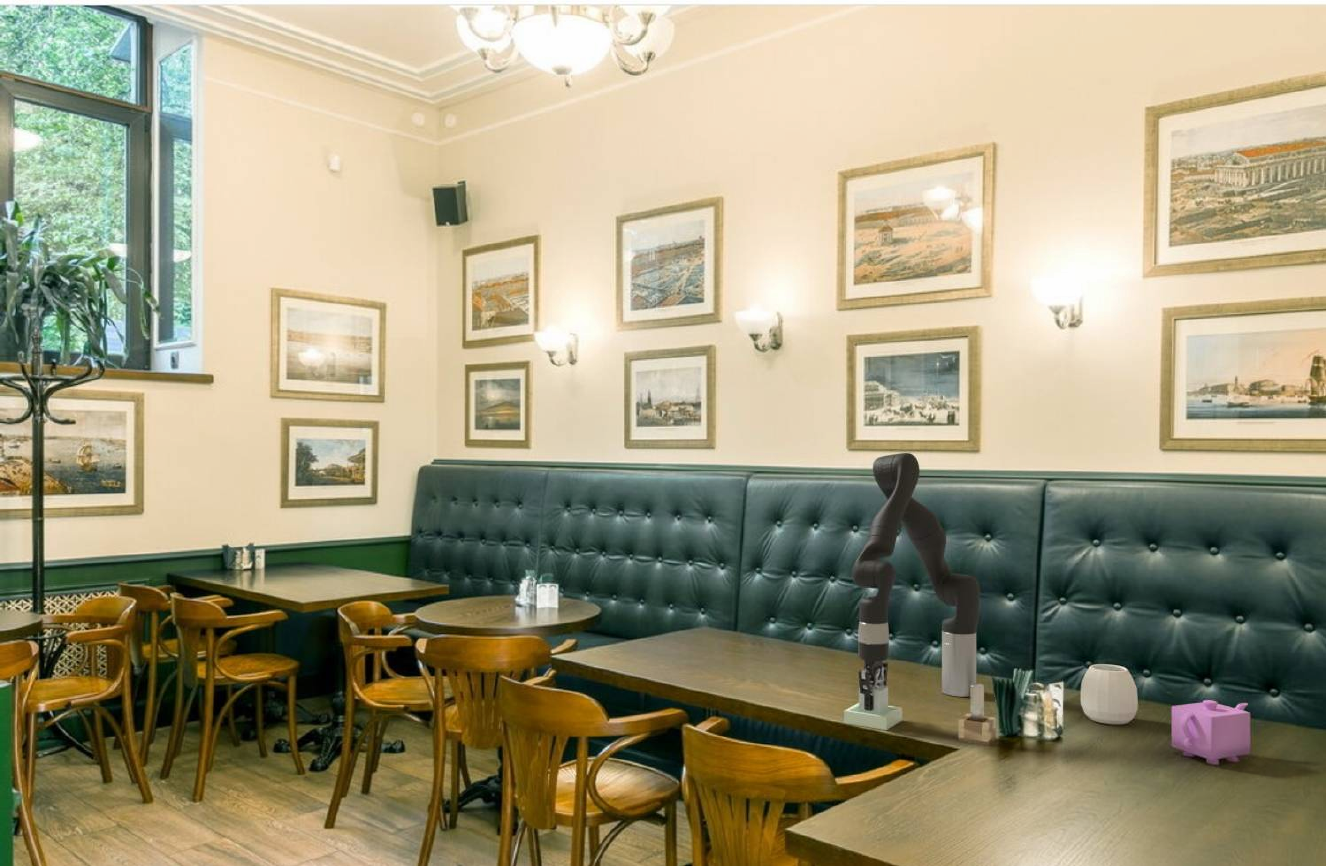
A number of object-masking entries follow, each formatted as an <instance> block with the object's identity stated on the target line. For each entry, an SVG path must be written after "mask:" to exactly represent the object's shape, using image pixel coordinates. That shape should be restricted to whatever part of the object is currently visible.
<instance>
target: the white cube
mask: <svg viewBox="0 0 1326 866" xmlns="http://www.w3.org/2000/svg"><path fill="white" fill-rule="evenodd" d="M863 687H864V685H863ZM873 696H874V709H873V710H872V711H869V710H865V709H864V694H861V693H860V687H859V688H858V703H859V712H862V713H869V714H875V715H882V714H884V713H885V712H887V711H888V706H889V686H876V687H875V688H874V695H873Z"/></svg>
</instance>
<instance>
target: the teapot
mask: <svg viewBox="0 0 1326 866" xmlns="http://www.w3.org/2000/svg"><path fill="white" fill-rule="evenodd" d="M1248 705H1249V703H1247V702H1241V703H1237V705H1236V706H1235V707H1231V706H1228V705H1223V704H1221V703H1220V704H1219V703H1218V701H1216V700H1212V699H1205V700H1203V701H1202V702H1196V703H1187V704H1178V705H1172V706H1171V747H1172V748H1174V749H1177V750H1179V751H1183V753H1182V755H1183V756H1185V757H1190V758H1191V757H1193V758H1194V757H1196V756H1198V757H1201V758H1204V759H1206V761H1205V762H1206V764H1209V765H1213V766H1214V765H1215V766H1219V765H1220V761H1219V760H1222V759H1226V761H1229V762H1234V763H1235V762H1236V763H1239V762H1240V760H1239V758H1238V757H1240V756H1247V755H1251V712H1249V711H1246V710H1245V708H1246V707H1247V706H1248Z"/></svg>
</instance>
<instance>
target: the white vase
mask: <svg viewBox="0 0 1326 866" xmlns="http://www.w3.org/2000/svg"><path fill="white" fill-rule="evenodd" d="M1138 699H1139V698H1138V689H1137V686H1136V682H1135V680H1134V678H1133V676H1132V674H1131V673H1130V671H1129V670H1128V668H1126V667H1125V666H1121V665H1115V664H1105V663H1098V664H1092V665H1090V666H1089V667H1088V668H1087V671H1086V672H1085V674H1084V676H1083V678H1082V680H1081V685H1080V705H1081V708H1082V710H1083V713H1084V715H1086V717H1088V719H1090V720H1092V721H1093V722H1098V723H1102V724H1105V725H1106V724H1107V725H1125V724H1128V723H1129V722H1131V721H1132V720H1133V719H1134V718H1135V716H1136V714H1137V711H1138V708H1139V707H1138V706H1139V705H1138V704H1139V702H1138Z"/></svg>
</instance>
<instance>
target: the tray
mask: <svg viewBox="0 0 1326 866" xmlns="http://www.w3.org/2000/svg"><path fill="white" fill-rule="evenodd" d="M902 721H903V707H899V706H894V705H888V711H887V712H885V713H884V714H882V715H875V714H869V713H862V712H859V702H857V703H855V704H854V705H851V706H850V707H848V708H847V709H844V711H843V724H847V725H853V726H858V727H864V728H870V729H875V730H877V729H878V730H882V731H883V730H884V731H888V730H889V729H890V728H892V727H894V726H896V725H897V724H898V723H900V722H902Z"/></svg>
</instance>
